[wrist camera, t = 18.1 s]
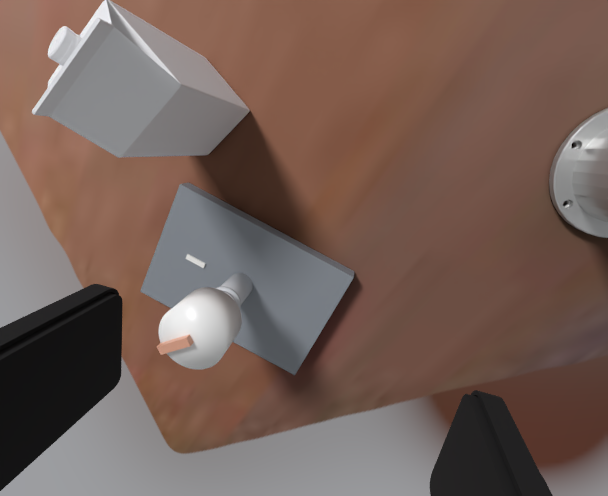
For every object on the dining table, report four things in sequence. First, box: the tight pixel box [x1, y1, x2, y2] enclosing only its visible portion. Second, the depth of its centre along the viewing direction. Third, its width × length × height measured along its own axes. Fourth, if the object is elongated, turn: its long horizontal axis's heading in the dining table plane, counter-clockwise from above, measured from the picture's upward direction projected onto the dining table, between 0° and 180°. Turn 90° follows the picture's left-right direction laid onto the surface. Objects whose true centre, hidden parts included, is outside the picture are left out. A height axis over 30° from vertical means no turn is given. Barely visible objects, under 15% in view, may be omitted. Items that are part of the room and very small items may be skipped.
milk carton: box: [32, 0, 250, 158], centre depth 28 cm, size 7×7×19 cm
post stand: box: [141, 183, 354, 375], centre depth 38 cm, size 22×15×10 cm
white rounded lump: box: [157, 287, 242, 369], centre depth 30 cm, size 6×6×5 cm
